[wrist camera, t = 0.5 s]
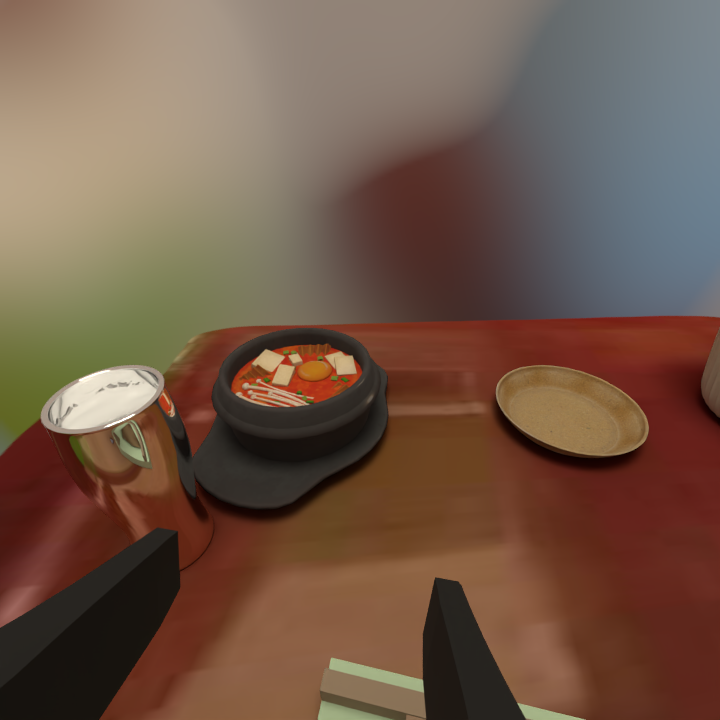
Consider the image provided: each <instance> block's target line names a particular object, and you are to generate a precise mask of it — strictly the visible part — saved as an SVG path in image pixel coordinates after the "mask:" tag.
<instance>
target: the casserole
mask: <svg viewBox="0 0 720 720" xmlns="http://www.w3.org/2000/svg"><path fill="white" fill-rule="evenodd" d="M387 381H388V376H387V374H386V372H385V371H384V369H382V368H381V367H380V366H378V365H377V364H376V363H375V362H374V361H373V360H372V359H371V358H370V356H369V353H368V351H367V350H366V348H365V347H364V346H363V345H362V344H361V343H360V342H358V341H357V340H355V339H354V338H352V337H350V336H348V335H346V334H343V333H340V332H336V331H333V330H327V329H319V328H295V329H286V330H281V331H276V332H272V333H269V334H265V335H262V336H259V337H257V338H255V339H252V340H250V341H248V342H246V343H245V344H243V345H241V346H240V347H238V348H237V349H236V350H234V351H233V352H232V353H231V354H230V355H229V356H228V357H227V358H226V359H225V360H224V362H223V364H222V366H221V368H220V370H219V376H218V378H217V380H216V382H215V384H214V386H213V391H212V402H213V407H214V409H215V411H216V412H217V416H216V418H215V421H214V423H213V426H212V428H211V430H210V432H209V434H208V435H207V437H206V438H205V440H204V441H203V443H202V444H201V446H200V447H199V449H198V450H197V452H196V453H195V455H194V456H193V468H194V477H195V479H196V481H197V482H198V483H199V484H200V485H201V486H202V488H203V489H204V490H205V491H207V492H208V493H210V494H211V495H213V496H214V497H216V498H217V499H219V500H221V501H223V502H226V503H229V504H232V505H234V506H237V507H243V508H250V509H256V510H260V509H277V508H280V507H283V506H286V505H289V504H292V503H294V502H295V501H296V500H298V499H299V498H300V497H302V496H303V495H304V494H306V493H307V492H308V491H310V490H311V489H312V488H314V487H315V486H316V485H317V484H319V483H320V482H321V481H323V480H324V479H326V478H328V477H329V476H331V475H333V474H335V473H337V472H339V471H341V470H342V469H344V468H346V467H348V466H350V465H352V464H354V463H355V462H357V461H359V460H360V459H361V458H362V457H364V456H365V455H366V454H367V453H369V452H370V451H371V450H372V449H373V448H374V446H375V445H376V444H377V443H378V441H379V440H380V439H381V437H382V435H383V433H384V431H385V429H386V426H387V420H388V408H387V402H386V395H385V393H386V388H387Z"/></svg>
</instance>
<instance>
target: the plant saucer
mask: <svg viewBox="0 0 720 720" xmlns="http://www.w3.org/2000/svg"><path fill="white" fill-rule="evenodd" d="M496 398H497V401H498V404H499V406H500V408H501V410H502V411H503V413H504V415H505V416H506V417H507V419H508V420H509V421H510V422H511V423H512V425H513V426H514V427H515V428H516V429H518V430H519V431H520V432H521V433H522V434H523V435H525V436H526V437H527V438H529V439H530V440H532V441H533V442H535V443H536V444H538V445H540V446H542V447H544V448H546V449H549V450H551V451H554V452H557V453H560V454H564V455H568V456H574V457H582V458H604V457H612V456H617V455H621V454H624V453H627V452H630V451H633V450H635V449H636V448H638V447H639V446H641V445H642V444H643V443H644V442H645V440H646V438H647V436H648V430H649V426H648V421H647V418H646V416H645V414H644V413H643V411H642V410H641V408H640V407H639V406H638V404H637V403H636V402H635V401H634V400H633V399H631V398H630V397H629V396H628V395H627V394H625V393H624V392H623V391H621V390H620V389H618V388H616V387H615V386H613V385H611V384H610V383H608V382H606V381H604V380H602V379H600V378H598V377H595V376H593V375H590V374H587V373H584V372H581V371H578V370H574V369H569V368H564V367H558V366H547V365H539V366H538V365H537V366H527V367H522V368H518V369H516V370H513V371H511V372H509V373H507V374H506V375H505V376H503V377H502V379H501V380H500V381H499V383H498V385H497V388H496Z"/></svg>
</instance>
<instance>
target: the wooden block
mask: <svg viewBox="0 0 720 720" xmlns="http://www.w3.org/2000/svg"><path fill="white" fill-rule="evenodd" d="M406 720H426V719H422V718H418V717H415V716H411V715H407V714H406Z"/></svg>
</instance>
